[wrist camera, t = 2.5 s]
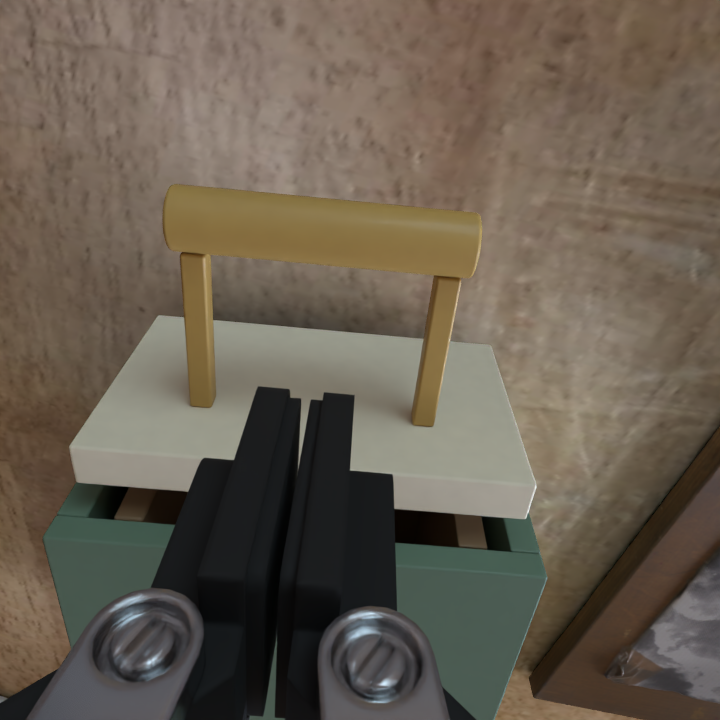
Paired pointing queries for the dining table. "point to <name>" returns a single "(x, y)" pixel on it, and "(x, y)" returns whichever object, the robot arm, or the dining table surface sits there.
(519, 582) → the cabinet
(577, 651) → the picture frame
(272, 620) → the robot arm
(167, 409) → the drawer
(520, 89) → the dining table surface
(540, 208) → the dining table surface
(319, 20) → the dining table surface
